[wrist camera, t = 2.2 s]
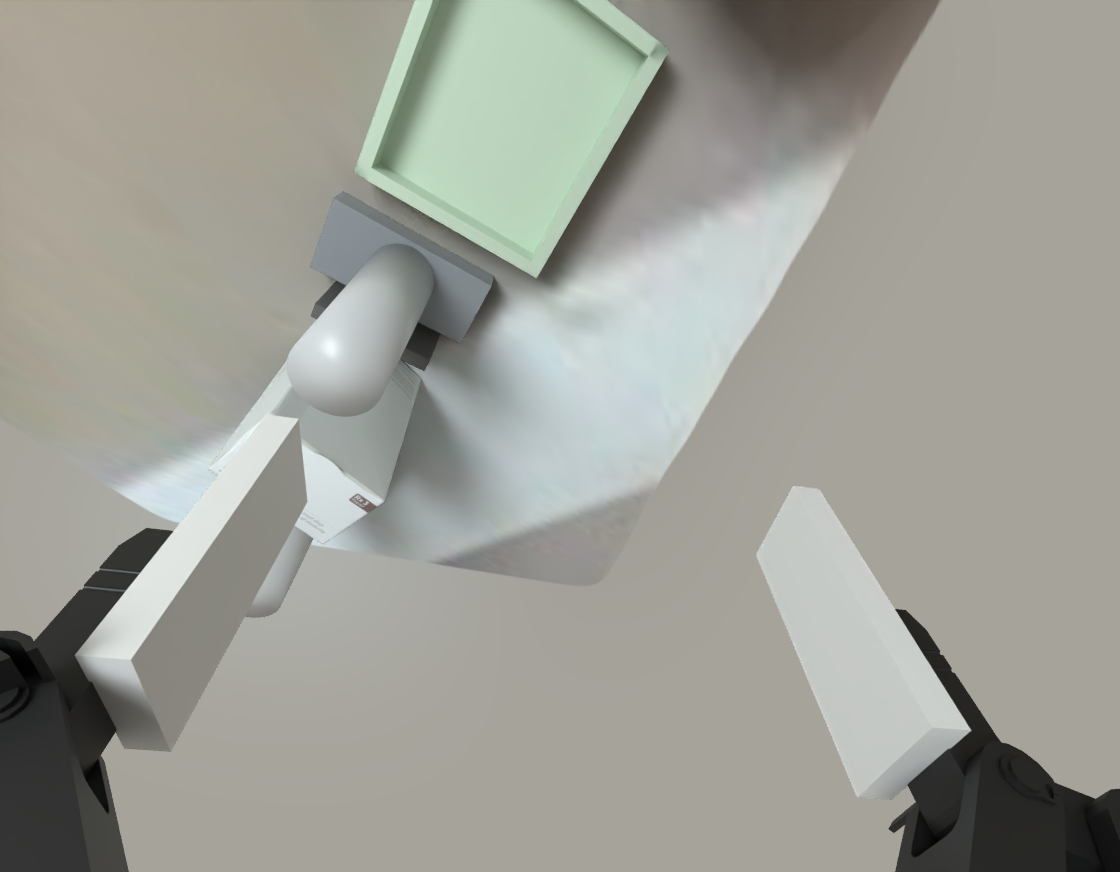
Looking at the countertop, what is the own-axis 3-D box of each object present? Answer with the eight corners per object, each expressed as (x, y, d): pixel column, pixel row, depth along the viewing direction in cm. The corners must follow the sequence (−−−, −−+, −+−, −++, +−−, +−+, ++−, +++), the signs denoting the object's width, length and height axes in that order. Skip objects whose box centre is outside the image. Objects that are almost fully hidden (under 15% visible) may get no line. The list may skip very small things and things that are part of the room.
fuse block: (256, 439, 47) (143, 589, 34) (343, 191, 36) (224, 271, 23) (379, 488, 50) (319, 642, 37) (493, 276, 39) (466, 388, 26)
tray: (365, 165, 35) (353, 172, 33) (463, -107, 28) (457, -119, 26) (537, 266, 39) (536, 278, 37) (661, 50, 32) (669, 49, 30)
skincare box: (296, 347, 42) (193, 467, 30) (348, 301, 40) (261, 410, 28) (378, 419, 46) (317, 552, 34) (430, 381, 44) (384, 507, 32)
